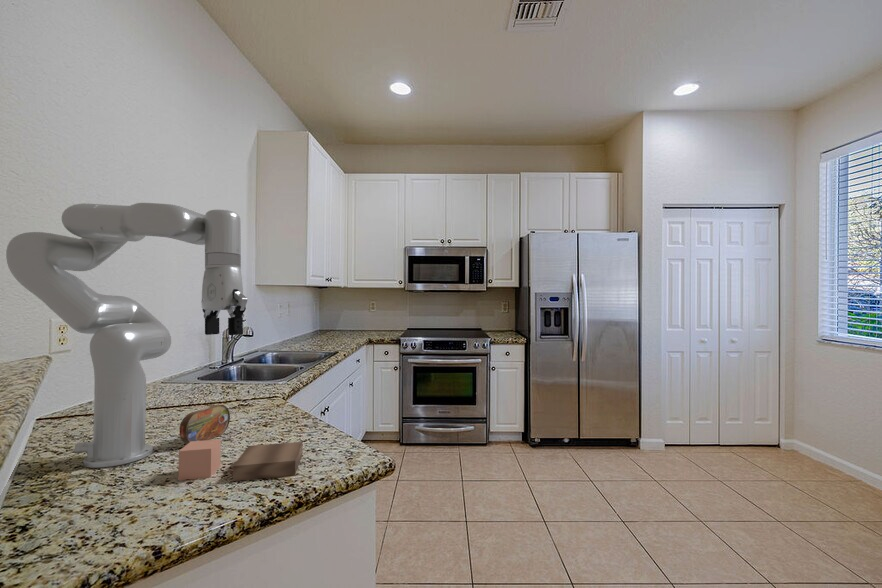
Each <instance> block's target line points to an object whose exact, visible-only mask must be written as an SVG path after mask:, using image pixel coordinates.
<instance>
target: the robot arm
mask: <svg viewBox="0 0 882 588" xmlns="http://www.w3.org/2000/svg"><path fill="white" fill-rule="evenodd" d="M61 223H62V225H63V226H64V228H65V229H66V231H68V232H69V233H71V235H74V236H76V237H71V236H67V235H62V234H56V233H49V232H43V231H30V232H29V231H28V232H23V233H20V234H17V235H16V236H14V237H12V238H11V239H10V241H9V242H8V244H7V246H6V250H5V251H6V254H5V256H6V257H5V258H6V259H5V260H6V263H7V266H8V269H9V272H10V273H11V275H12V276H13V277H14V278H15V280H16V281H17V282H18V283H19V285H21V286H23V287H24V288H25V289H26V290H27V291H29V292H30V293H32V294H33V295H34V296H35V297H36V298H37V299H40V300H41V302H42V303H44V304H45V305H46V306H47V307H48V308H49V309H50V310H51V311H52V312H53V313H55V314H56V315H57V316H58V317H59V318H60V319H61V320H62V321H64V322H65V323H66V325H68V327H70V328H71V329H73V330H74V331H75V332H78V333H80V334H87V335H92V336H91V338H90V342H89V353H90V359H91V361H92V367H93V372H94V373H93V376H94V378H93V379H94V385H93V387H94V388H93V390H94V391H93V393H94V394H93V395H94V396H93V397H94V398H93V403H94V404H93V437H92V440H91V441H84V442H83V441H82V442H77V443H76V444H75V445H74V450H73V453H74V454H82V453H85V454H86V456H85V457H84V458H83V461H82V462H83V466H84V467H86V468H94V469H99V468H100V469H101V468H110V467H115V466H116V467H117V466H122V465H125V464H129V463H134V462H136V461H139V460H141V459H144V458H146V457H148V456H150V455H151V454H152V453H153V451H154V448H153V445H152V444H151V445H150V444H149V443H146V417H147V415H146V414H147V409H146V407H147V377H146V373H145V371H144V368H143V367H142V364H141V362H140V361H146V360H152V359H156V358H160V357H161V356H163V355H164V354H166V353H167V352H168V351H169V349H170V348H171V344H172V338H171V337H172V336H171V334H170V330H169V329H168V328H167V327H166V326H165V325H164V324H163V323H162V321H160V320H159V319H158V318H157V317H155V316H154V315H153V314H152V313H151V312H150V311H148V309H146V307H144V306H143V305H142V304H140V303H139V302H138V301H136V300H135V299H132V298H130V297H127V296H122V295H113V294H111V295H109V294H108V295H107V294H102V293H98V292H96V291H95V290H93V289H92V288H91V287H89V286H88V284H86V283H85V282H84V281H83V280H82V279H80V277H77V276H76V275H74V274H72V273H70V272H69V271H72V272H87V271H91V270H94V269H95V268H97V267H98V266H100V265H102V264H103V262H105V261H106V260H107V259H108V258H110V257H111V256H112V255H114V254H115V253H116V252H117V251H118V250H120V249H121V248H122V247H123V246H125V244H127V243H128V242H140V241H141V240H143V239H145V238H146V237H159V238H168V239H173V240H178V241H181V242H184V243H188V244H193V245H196V246H197V245H199V246H204V272H203V277H202V287H201V288H202V289H201V303H200V304H201V308H202V312H203V318H204V334H205V335H208V336H209V335H210V336H211V335H219V334H220V317H218V316H219V314H220V312H221V311H225V310H226V311H227V313H228V315H229V317H228V318H227V324H228V325H227V329H228V330H227V331H228V332H227V334H228V336H237V335H238V336H239V335H243V334H244V324H243V323H244V319H243V318H244V317H245V311H246V309H247V303H248V297H247V296H245V295H244V290H243V277H242V271H241V270H242V267H241V266H242V260H241V259H242V257H241V252H242V251H241V249H242V248H241V247H242V246H241V237H242V236H241V231H242V230H241V217H240V215H239V214H238V213H236V212H235V211H231V210H228V209H211V210H208V211H207V212H205V214H203V213H199V212H196V211H194V210H191V209H188V208H185V207H183V206H180V205H176V204H169V203H158V202H157V203H156V202H155V203H154V202H136V203H134V204H131V205H122V204H121V205H118V204H102V203H76V204H73V205H70V206H68V207H67V208H66V209H64V211H63V212H62V215H61ZM77 237H79V238H77Z"/></svg>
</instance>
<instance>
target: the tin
mask: <svg viewBox="0 0 882 588" xmlns="http://www.w3.org/2000/svg"><path fill="white" fill-rule="evenodd" d="M230 420H231V414H230V410H229V408H228V407H227V406H226V405H225V404H214V405H211V406H207V407H204V408H201V409H198V410H194V411H192V412H189V413H187V414H185V416H184V417H183V418H182V420H181V422H180V424H179V437H180V440H181V442H182V443H184V444H186V445H187V444H188V443H190V442H191V441H204V440H214V439H215V438H218V437H219V436H221V435H223V434H224V433H225V432H226V431H227V429H228V427H229V425H230Z"/></svg>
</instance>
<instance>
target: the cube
mask: <svg viewBox="0 0 882 588" xmlns="http://www.w3.org/2000/svg"><path fill="white" fill-rule="evenodd" d="M221 447H222V440H221V438H220V439H210V440H204V441H191V442H190V443H188V444H186V445H184V447H182V448H181V449H179V451H178V472H177V473H178V478H177V479H178V480H179V481H186V480H185V479H190V480H197V478H201V479H208V478H212V475H213V476H214V475H215V473H216V472H217V471H218V470H219V469H220V468H221V459H222V457H221V449H222V448H221ZM218 468H219V469H218Z"/></svg>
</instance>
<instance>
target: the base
mask: <svg viewBox="0 0 882 588" xmlns="http://www.w3.org/2000/svg"><path fill="white" fill-rule="evenodd" d="M303 443H304V442H303V441H294V442H293V441H292V442H283V443H282V442H281V443H270V444H269V443H268V444H257V445H256V444H255V445H253V444H252V445H248V446H247V447H246V449H245V450H244V451H243V452H242V453H241V455H240V456H239V458H238V459H237V460H236V462H235V463H234V464H233V465H232V482H235V481H236V482H238V481H247V480H257V479H268V478H278V477H280V478H281V477H287V476H288V477H289V476H296V475H297V474H296V473H297V472H298V469H299V466H300V463H301V461H302V460H301V459H302V457H303V455H302V454H303V450H304V449H303V445H304V444H303ZM296 471H297V472H296Z"/></svg>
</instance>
